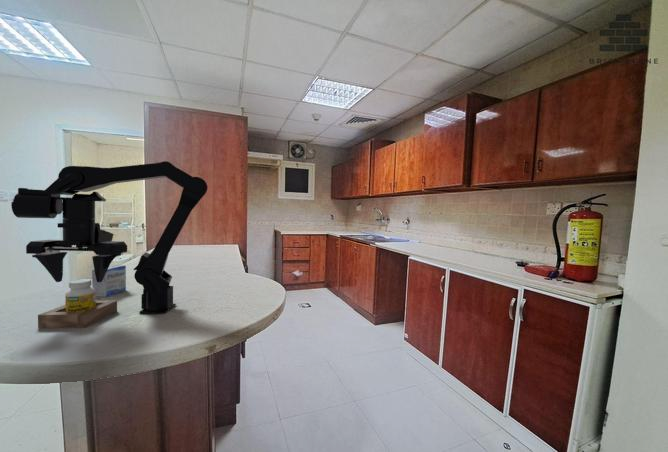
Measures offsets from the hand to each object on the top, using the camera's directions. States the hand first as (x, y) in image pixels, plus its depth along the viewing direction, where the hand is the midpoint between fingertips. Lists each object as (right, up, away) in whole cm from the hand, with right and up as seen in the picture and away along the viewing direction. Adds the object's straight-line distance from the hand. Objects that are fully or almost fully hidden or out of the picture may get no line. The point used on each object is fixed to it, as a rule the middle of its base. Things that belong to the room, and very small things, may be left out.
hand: (79, 281), depth 64 cm
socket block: (0, -9, +1) cm, 9 cm away
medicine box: (-10, -8, +21) cm, 24 cm away
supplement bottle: (0, -10, +1) cm, 10 cm away
